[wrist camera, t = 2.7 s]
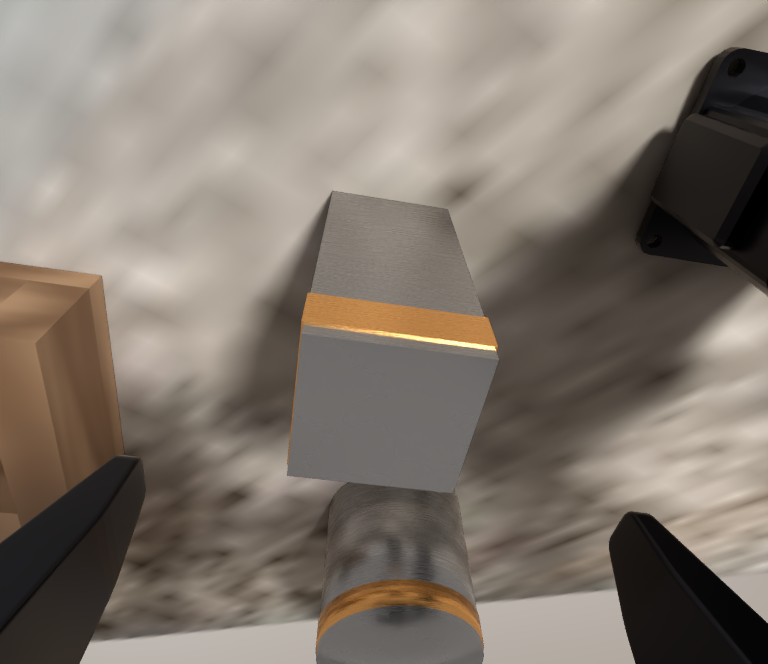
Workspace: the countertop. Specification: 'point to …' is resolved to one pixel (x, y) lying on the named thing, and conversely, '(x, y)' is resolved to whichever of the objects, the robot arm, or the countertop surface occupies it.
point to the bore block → (52, 388)
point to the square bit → (389, 350)
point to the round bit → (397, 580)
